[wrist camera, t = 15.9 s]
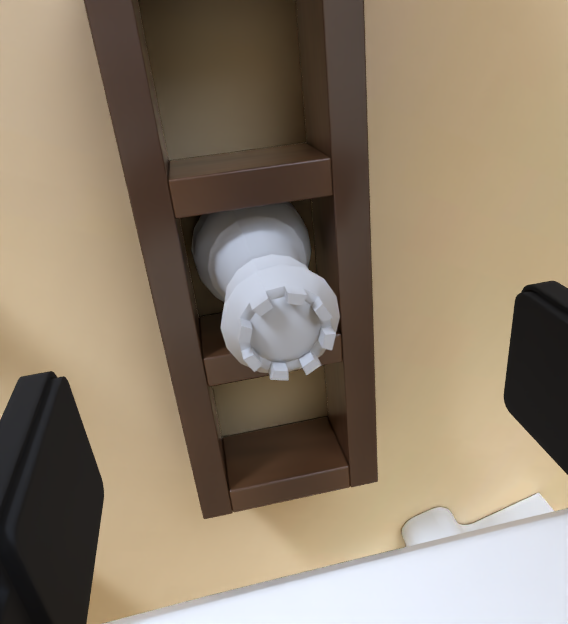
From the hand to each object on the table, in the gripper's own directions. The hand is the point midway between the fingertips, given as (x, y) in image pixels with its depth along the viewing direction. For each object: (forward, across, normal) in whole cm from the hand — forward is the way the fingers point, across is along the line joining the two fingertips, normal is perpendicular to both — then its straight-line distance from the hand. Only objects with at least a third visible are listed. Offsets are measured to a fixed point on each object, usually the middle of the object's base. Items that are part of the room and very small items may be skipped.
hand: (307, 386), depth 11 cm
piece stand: (+11, 0, +1) cm, 11 cm away
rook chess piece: (+11, 0, +1) cm, 11 cm away
